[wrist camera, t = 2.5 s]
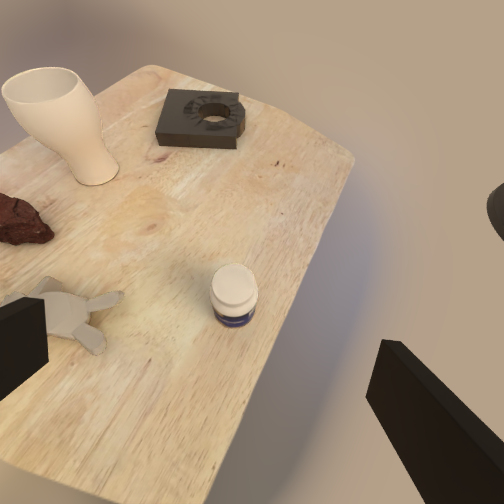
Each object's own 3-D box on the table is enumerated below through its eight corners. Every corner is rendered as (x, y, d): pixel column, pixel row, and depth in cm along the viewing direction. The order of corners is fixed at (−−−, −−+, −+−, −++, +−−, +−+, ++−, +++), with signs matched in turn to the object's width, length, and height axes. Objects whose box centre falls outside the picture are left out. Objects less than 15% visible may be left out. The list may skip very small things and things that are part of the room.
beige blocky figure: (7, 269, 31) (116, 276, 30) (40, 284, 35) (136, 291, 34) (-44, 347, 26) (82, 360, 25) (1, 354, 31) (111, 365, 29)
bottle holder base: (245, 106, 59) (245, 93, 56) (244, 149, 51) (244, 136, 48) (172, 102, 58) (168, 88, 55) (159, 145, 50) (154, 132, 48)
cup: (135, 178, 45) (93, 93, 32) (75, 200, 42) (2, 115, 29) (116, 145, 49) (72, 58, 36) (60, 163, 46) (-10, 75, 33)
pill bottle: (207, 321, 33) (196, 297, 24) (223, 284, 36) (218, 251, 27) (247, 335, 32) (250, 316, 24) (260, 297, 35) (267, 267, 27)
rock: (58, 253, 40) (73, 212, 43) (40, 238, 34) (58, 191, 37) (-24, 244, 37) (-2, 200, 40) (-59, 225, 31) (-30, 176, 35)
